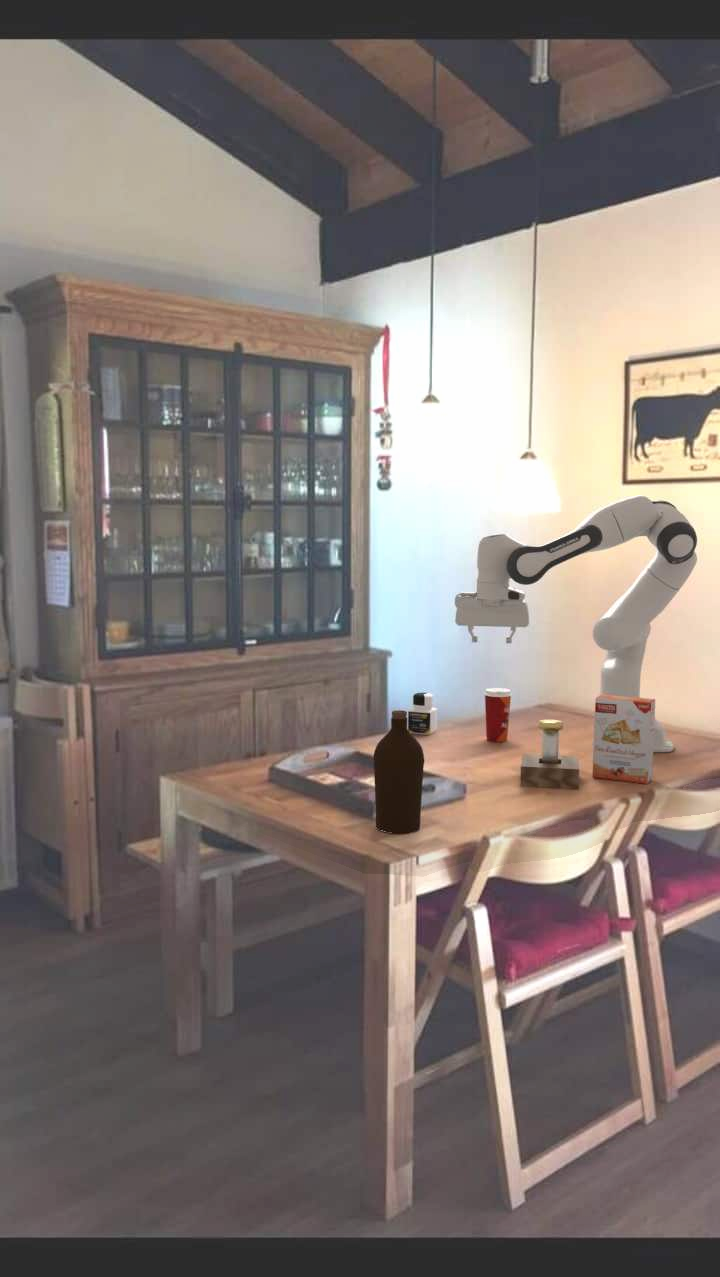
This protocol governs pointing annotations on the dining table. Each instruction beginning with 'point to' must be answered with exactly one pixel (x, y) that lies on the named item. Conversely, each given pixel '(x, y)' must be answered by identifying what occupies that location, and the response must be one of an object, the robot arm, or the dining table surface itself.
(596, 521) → the robot arm
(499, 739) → the coffee cup
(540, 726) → the pin
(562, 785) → the block
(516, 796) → the dining table surface
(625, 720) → the cracker box
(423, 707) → the medicine bottle
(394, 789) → the olive oil
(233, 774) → the dining table surface
